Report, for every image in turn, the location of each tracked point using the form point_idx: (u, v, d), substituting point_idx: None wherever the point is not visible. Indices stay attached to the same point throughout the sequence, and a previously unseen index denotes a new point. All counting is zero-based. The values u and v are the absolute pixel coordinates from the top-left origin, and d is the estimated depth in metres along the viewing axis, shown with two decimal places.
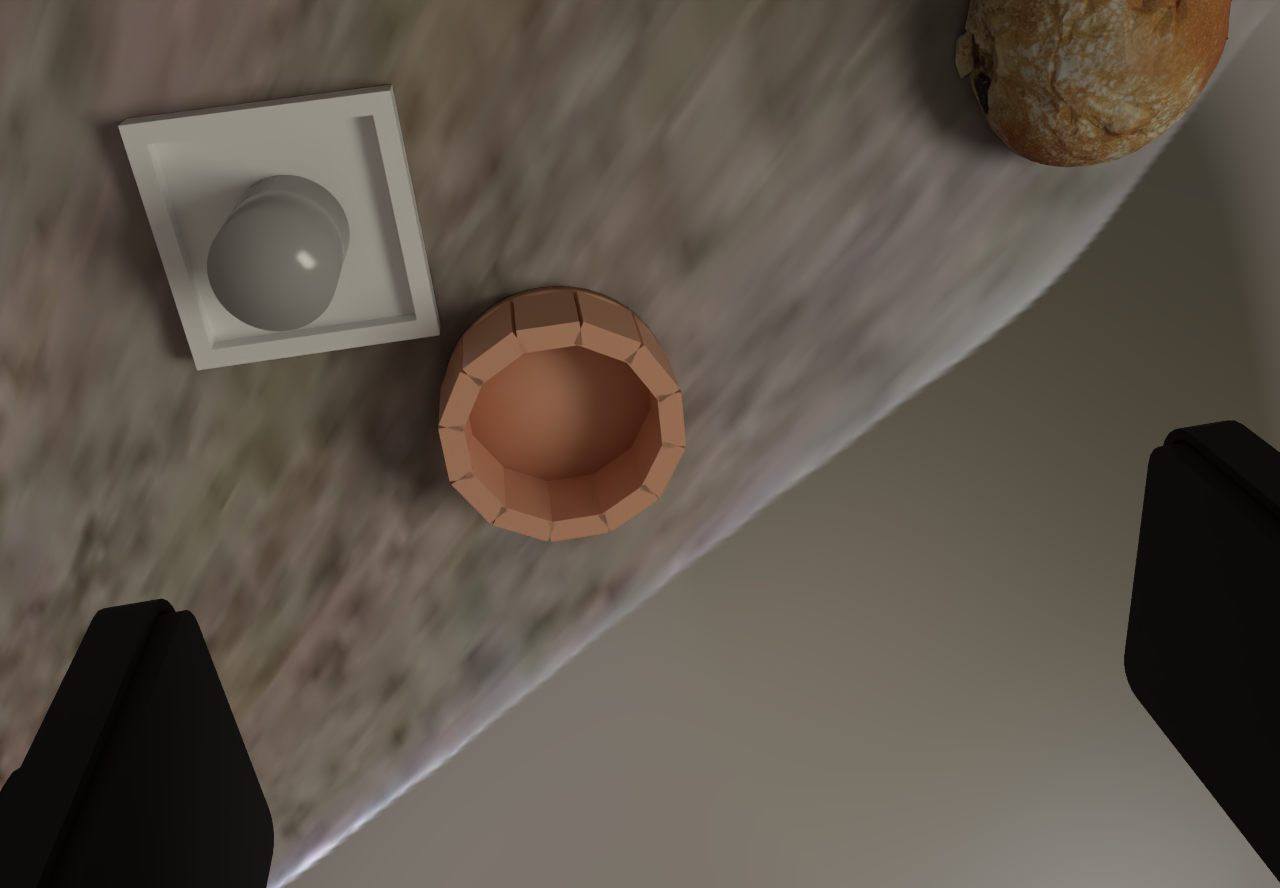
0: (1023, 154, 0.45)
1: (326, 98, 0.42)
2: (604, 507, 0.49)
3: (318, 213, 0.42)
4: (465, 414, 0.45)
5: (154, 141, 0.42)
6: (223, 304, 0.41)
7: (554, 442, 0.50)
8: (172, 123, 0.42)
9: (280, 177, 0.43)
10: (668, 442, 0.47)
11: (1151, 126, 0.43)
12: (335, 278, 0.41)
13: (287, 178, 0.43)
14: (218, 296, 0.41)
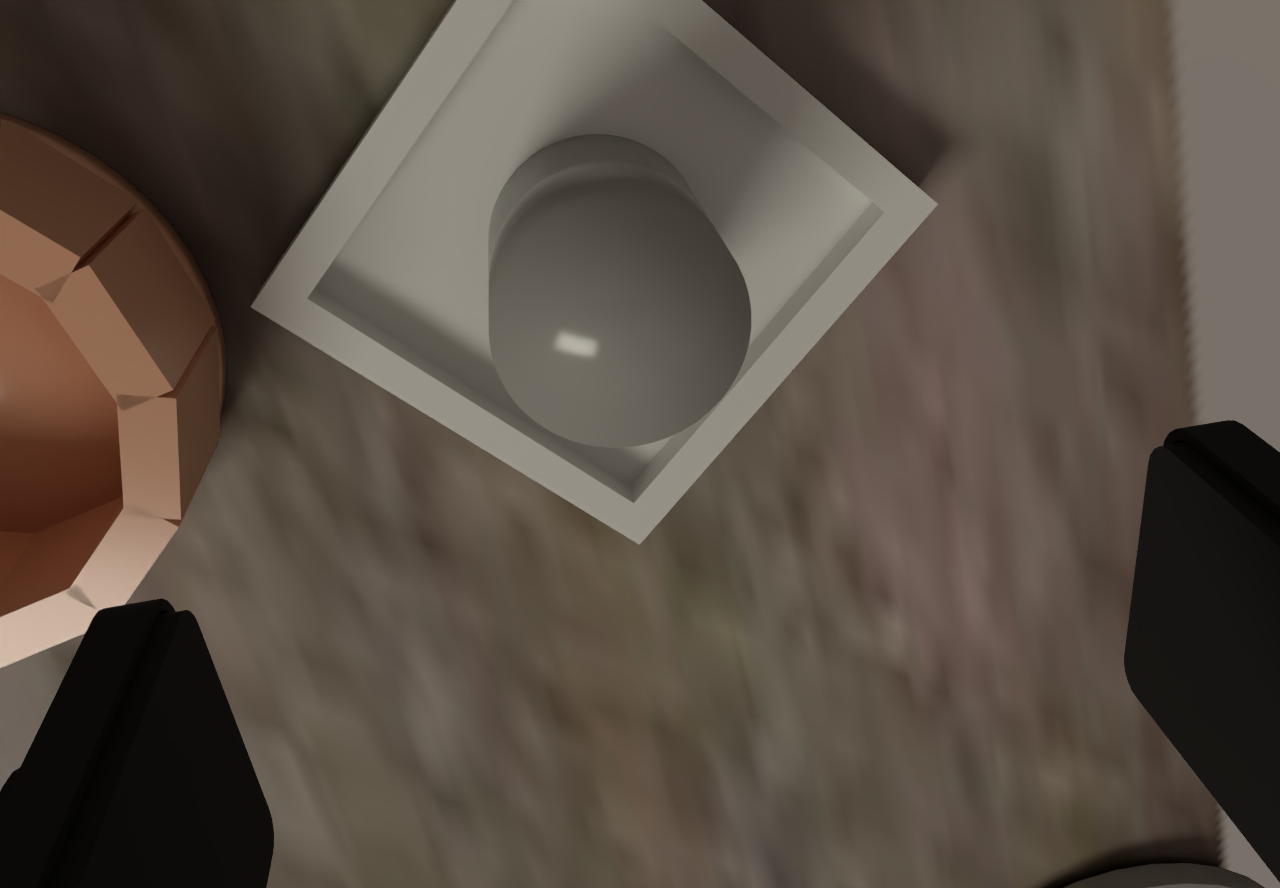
0: None
1: (702, 468, 0.26)
2: None
3: None
4: (73, 327, 0.19)
5: (877, 225, 0.23)
6: (650, 200, 0.18)
7: None
8: (869, 272, 0.24)
9: None
10: None
11: None
12: (523, 408, 0.20)
13: None
14: (672, 213, 0.18)
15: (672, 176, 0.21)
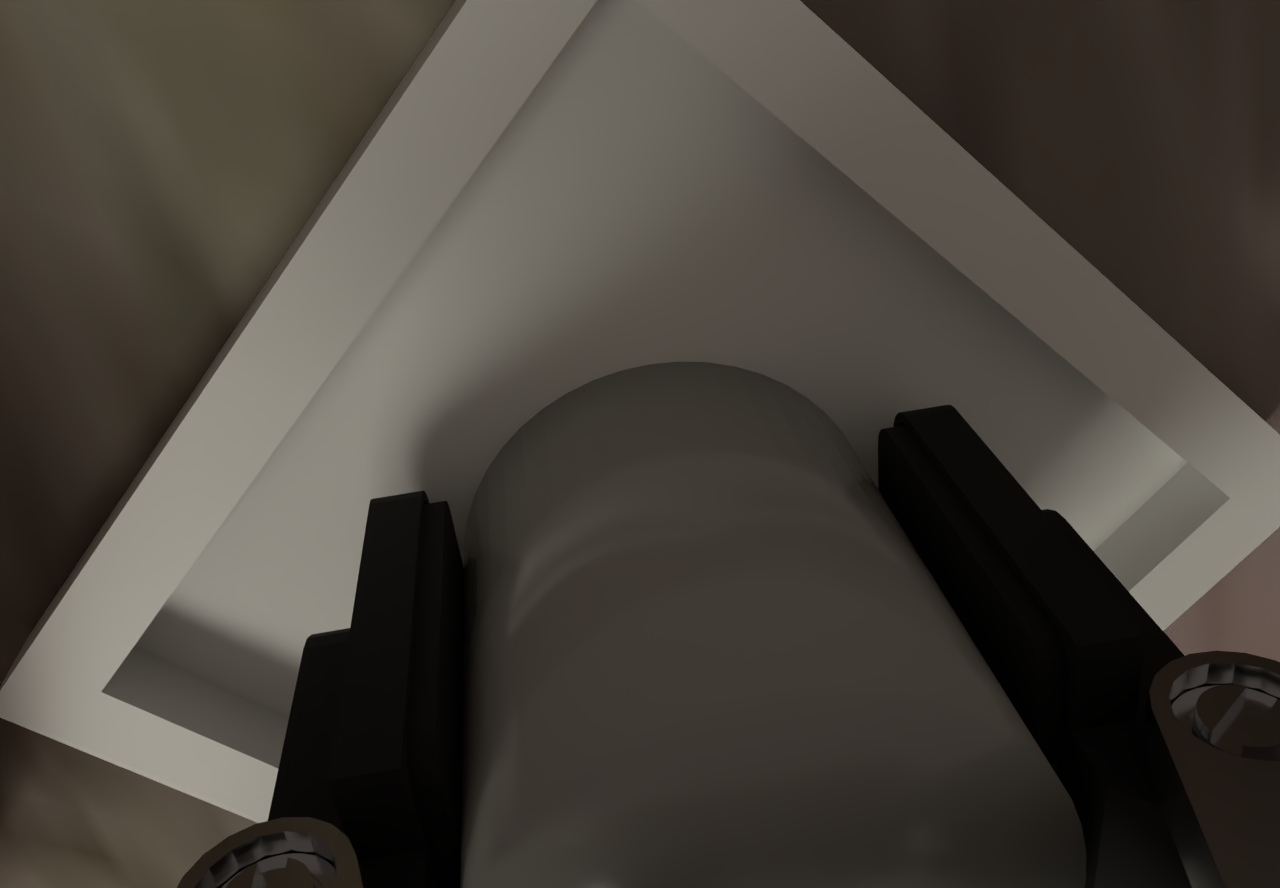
0: None
1: None
2: None
3: None
4: None
5: (1212, 520, 0.12)
6: (872, 678, 0.07)
7: None
8: (1183, 597, 0.13)
9: None
10: None
11: None
12: None
13: None
14: (929, 711, 0.07)
15: (852, 483, 0.10)
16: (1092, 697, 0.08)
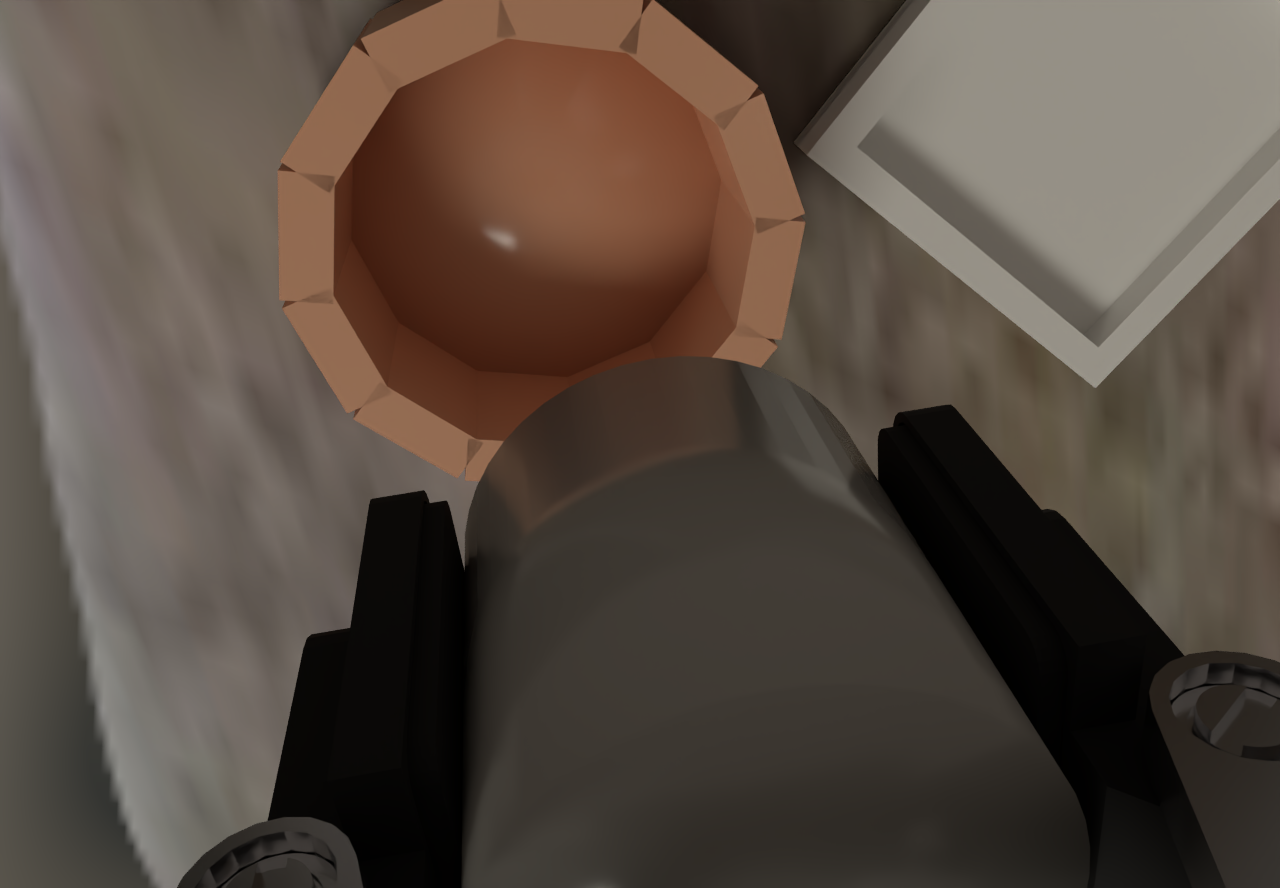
0: None
1: None
2: (336, 191, 0.21)
3: None
4: (737, 153, 0.21)
5: None
6: (876, 671, 0.07)
7: (471, 135, 0.24)
8: None
9: None
10: (383, 396, 0.23)
11: None
12: None
13: None
14: (933, 704, 0.07)
15: (854, 477, 0.10)
16: (1093, 697, 0.08)
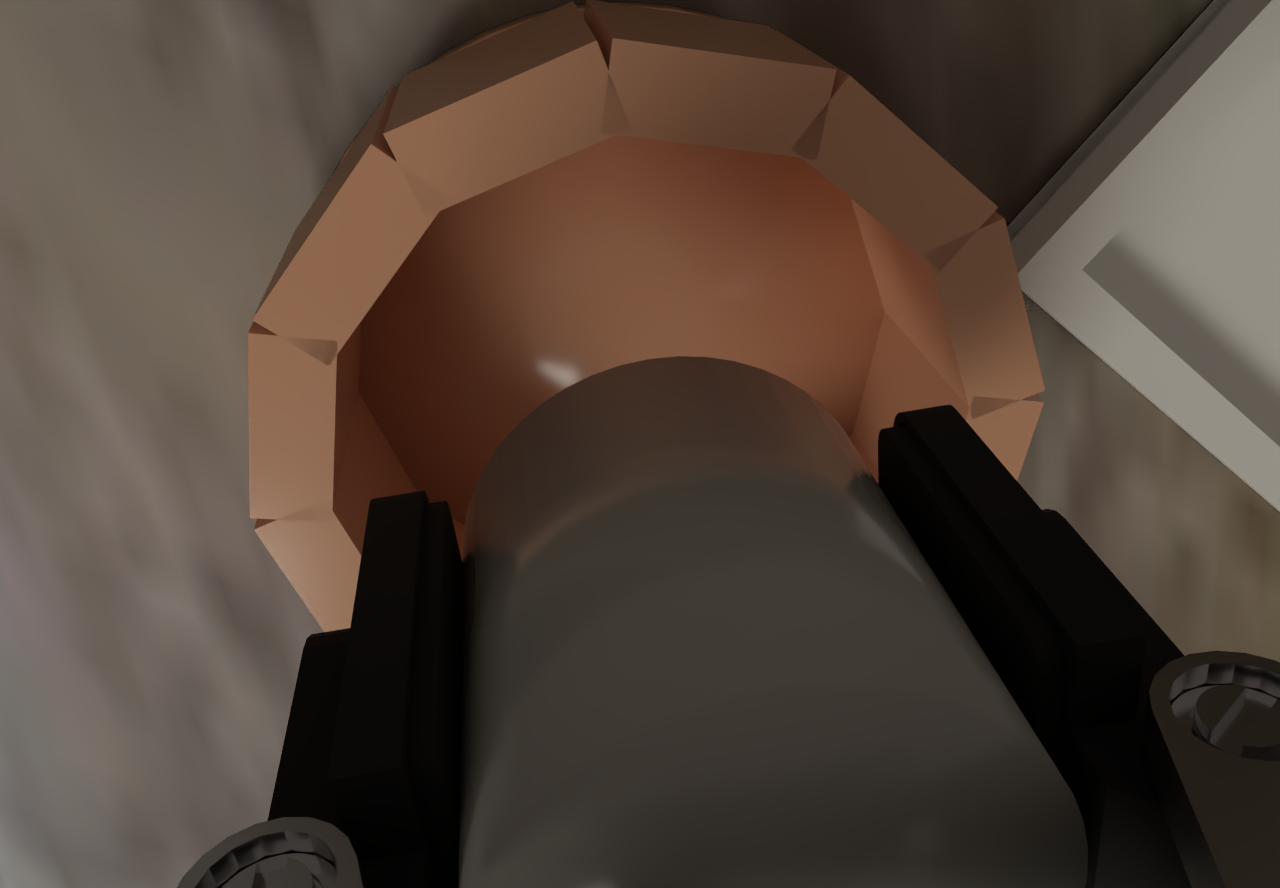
0: None
1: None
2: (339, 358, 0.14)
3: None
4: (955, 305, 0.14)
5: None
6: (873, 671, 0.07)
7: (535, 250, 0.17)
8: None
9: None
10: None
11: None
12: None
13: None
14: (930, 705, 0.07)
15: (852, 478, 0.10)
16: (1092, 697, 0.08)
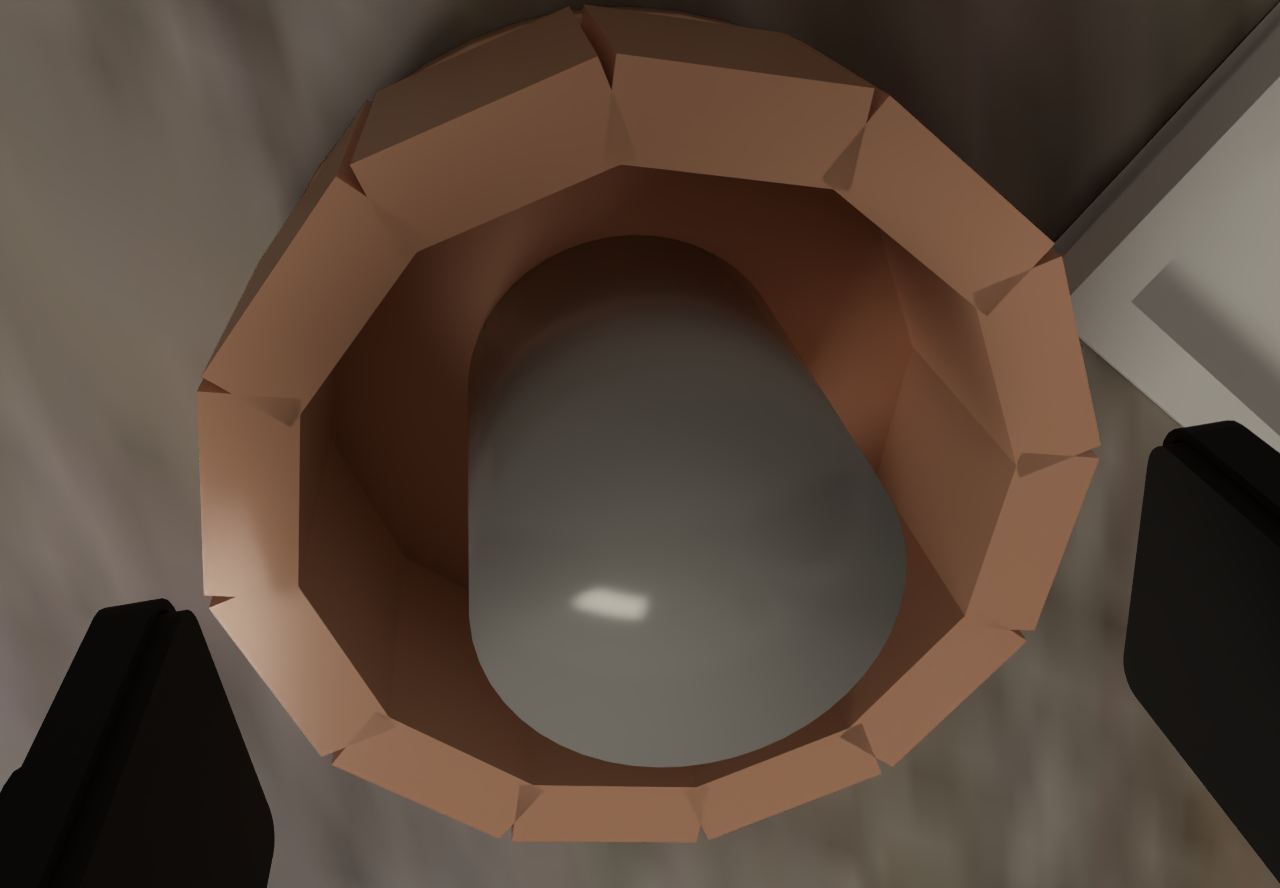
0: None
1: None
2: (303, 416, 0.12)
3: None
4: (1003, 353, 0.12)
5: None
6: (748, 399, 0.11)
7: None
8: None
9: None
10: (382, 729, 0.14)
11: None
12: (527, 719, 0.12)
13: None
14: (786, 422, 0.11)
15: (758, 314, 0.13)
16: None
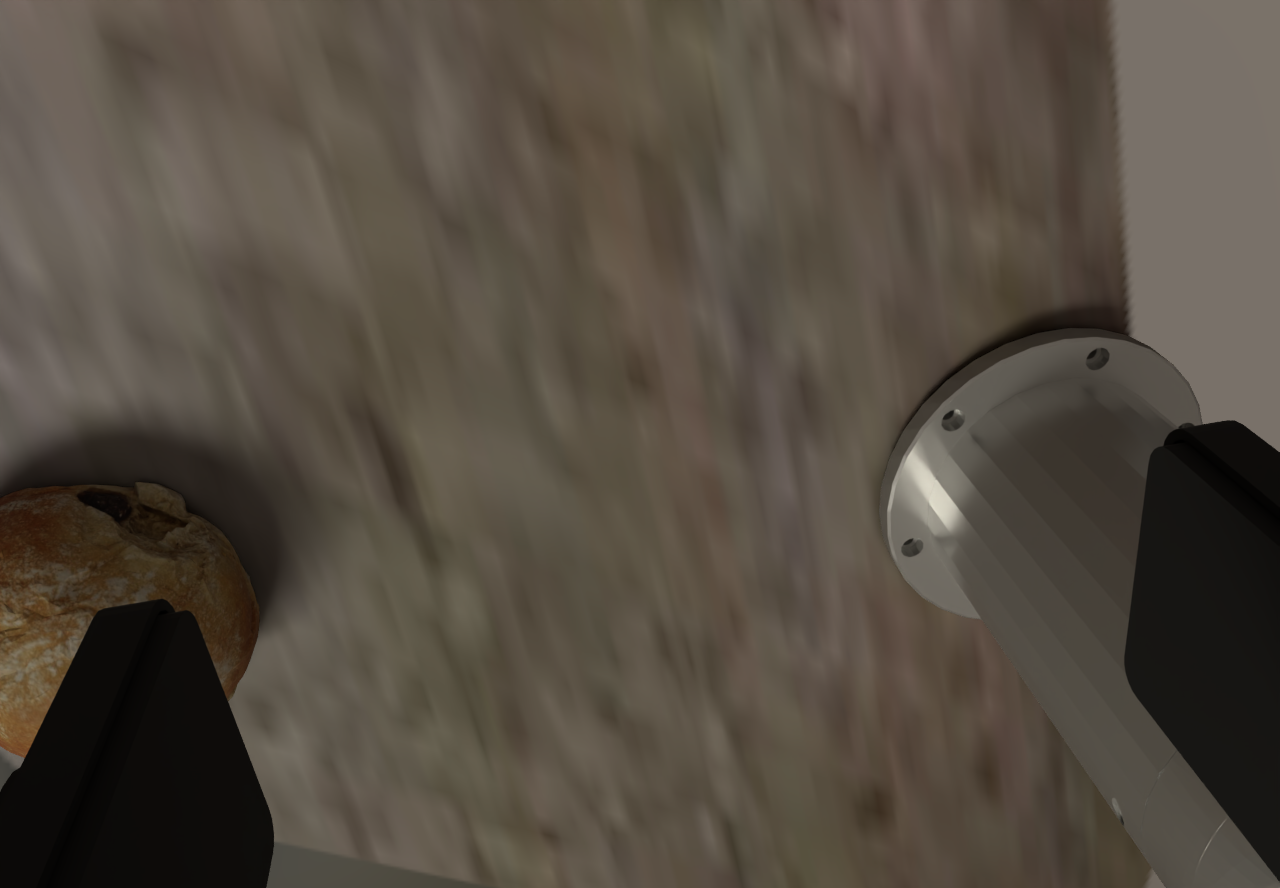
0: (1, 519, 0.34)
1: None
2: None
3: None
4: None
5: None
6: None
7: None
8: None
9: None
10: None
11: None
12: None
13: None
14: None
15: None
16: None
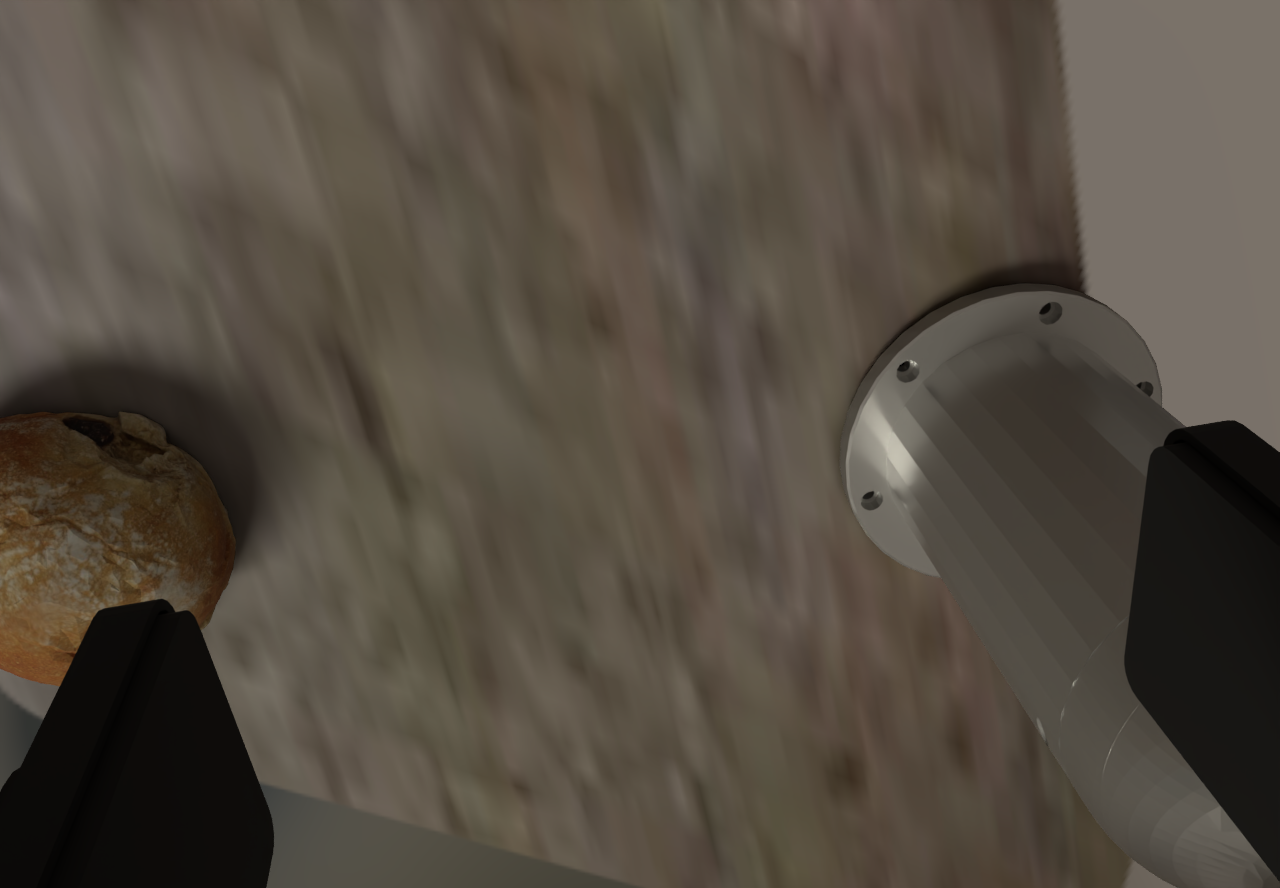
0: None
1: None
2: None
3: None
4: None
5: None
6: None
7: None
8: None
9: None
10: None
11: None
12: None
13: None
14: None
15: None
16: None
